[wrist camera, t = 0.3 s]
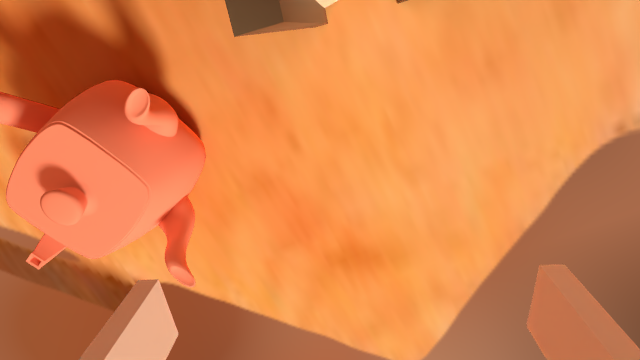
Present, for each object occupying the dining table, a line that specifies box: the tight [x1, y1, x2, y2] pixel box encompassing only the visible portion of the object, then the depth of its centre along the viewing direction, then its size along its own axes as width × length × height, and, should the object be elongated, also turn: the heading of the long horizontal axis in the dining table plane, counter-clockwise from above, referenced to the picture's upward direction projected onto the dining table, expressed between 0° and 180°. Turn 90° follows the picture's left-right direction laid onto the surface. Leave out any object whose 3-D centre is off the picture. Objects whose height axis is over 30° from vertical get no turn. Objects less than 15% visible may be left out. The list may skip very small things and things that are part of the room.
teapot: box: [0, 80, 206, 287], centre depth 35 cm, size 18×18×14 cm
